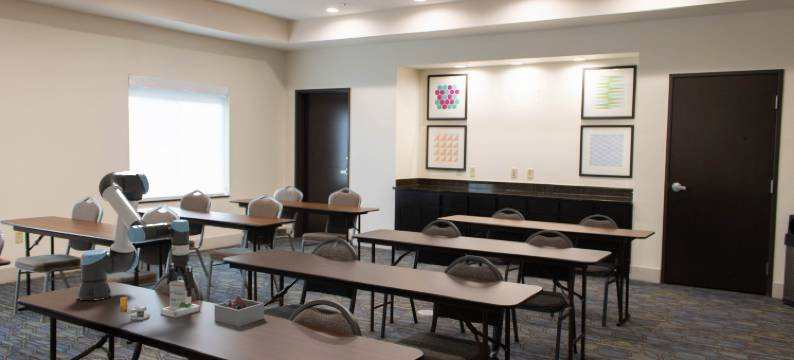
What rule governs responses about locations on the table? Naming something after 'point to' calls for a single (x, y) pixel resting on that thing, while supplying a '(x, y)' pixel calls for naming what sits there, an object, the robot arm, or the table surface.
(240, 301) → the brake caliper
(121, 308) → the crank
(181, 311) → the tray
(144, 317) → the crank base
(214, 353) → the table surface
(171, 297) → the ink box
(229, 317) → the parts crate
